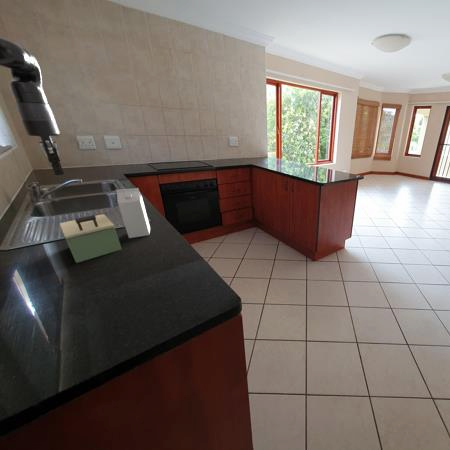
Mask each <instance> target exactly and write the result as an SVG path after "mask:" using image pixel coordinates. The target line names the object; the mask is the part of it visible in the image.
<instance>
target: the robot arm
mask: <svg viewBox="0 0 450 450" xmlns="http://www.w3.org/2000/svg"><path fill="white" fill-rule="evenodd" d="M0 67H3V68H8V69H9V71H10V75H11V78H12V80H10V81H9V82H8V85H9V90H10V92H11V94H12V97H13V99H14V101H15V105H16V109H17V113H18V115H19V117H20V120H21V122H22V125H23V128H24V129H25V132H26V135H28V136H30V137H39V138H40V139H41V141H38V144H39V146H40V148H41V149H42V151H43V153H44V156H45V157H46V158H47V160H48V163H49V164H50V165H51V168H52V171H53V173H54V175H55V176H63V175H65V174H64V173H65V172H64V170H63V167H62V165H61V158H60V152H59V150H58V143H57V141H55V140H53V139H52V137H55V136H57V137H58V136H60V135H61V131H60V129H59V126H58V123H57V120H56V116H55V115H54V112H53V109H52V108H51V106H50V104H49V101H48V98H47V96H46V92H45V90H44V88H43V77H42V72H41V68H40V65H39V62H38V60H37V58H36V57H35V55H34V54H33V53H32V52H31V51H30V50H29V49H27V48H25V47H24V46H22V45H19V44H18V43H15V42H14V41H12V40H9V39H5V38H2V37H0Z"/></svg>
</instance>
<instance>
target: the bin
mask: <svg viewBox="0 0 450 450" xmlns="http://www.w3.org/2000/svg"><path fill="white" fill-rule="evenodd" d="M65 241H66V244H67V245H68V248H69V250H70V252H71V254H72V255H71V256H72V258H73V260H74V261H75V263H76V264H78V263H81V262H84V261H88V260H91V259H95V258H98V257H101V256H104V255H107V254H111V253H114V252H117V251H122V246H121V242H120V239H119V237H118V234H117V231H116V228H115V226H114V227H112V228H108V229H104V230H100V231H96V232H91V233H87V234H83V235H79V236H75V237H71V238H67V239H65Z"/></svg>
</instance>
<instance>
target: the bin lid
mask: <svg viewBox="0 0 450 450" xmlns="http://www.w3.org/2000/svg"><path fill="white" fill-rule="evenodd" d="M59 226H60V228H61V231H62V234H63V236H64V239H65V240H66V239H67V238H71V237H75V236H79V235H83V234H87V233H91V232H96V231H100V230H104V229H108V228H112V227H114V228H115V224H114V223H113V222H112V221H111V220H110V219H109V218H108V216H106V215H105V214H103V213H102V214H97V215H95V214H92V215H91V214H90V215H87V216H81V217H77V218H74V220H68V221H63V222H59Z"/></svg>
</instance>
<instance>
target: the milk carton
mask: <svg viewBox="0 0 450 450" xmlns="http://www.w3.org/2000/svg"><path fill="white" fill-rule="evenodd" d="M115 191H116V199H117V206H118V209H119V212H120V214H121V215H120V216H121V218H122V221H123V225H124V228H125V230H126V231H125V232H126V233H127V237H128V239H134V238H140V237H145V236H150V233H151V225H150V220H149V218H148V214H147V211H146V207H145V203H144V200H143V196H142V194H141V192H140V189H139V187H135V188H123V189H116V190H115Z"/></svg>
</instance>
